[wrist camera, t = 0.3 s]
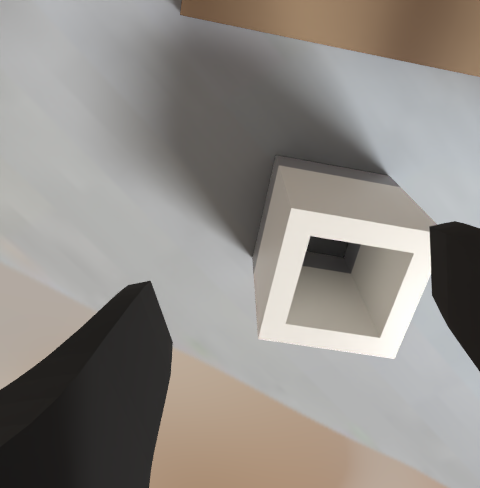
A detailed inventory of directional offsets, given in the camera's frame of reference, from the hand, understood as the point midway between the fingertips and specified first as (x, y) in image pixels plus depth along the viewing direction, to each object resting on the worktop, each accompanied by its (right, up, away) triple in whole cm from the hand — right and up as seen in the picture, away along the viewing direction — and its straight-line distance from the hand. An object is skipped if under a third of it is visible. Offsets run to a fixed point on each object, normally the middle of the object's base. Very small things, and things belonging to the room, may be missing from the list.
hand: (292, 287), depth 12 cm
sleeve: (+2, +2, +9) cm, 9 cm away
